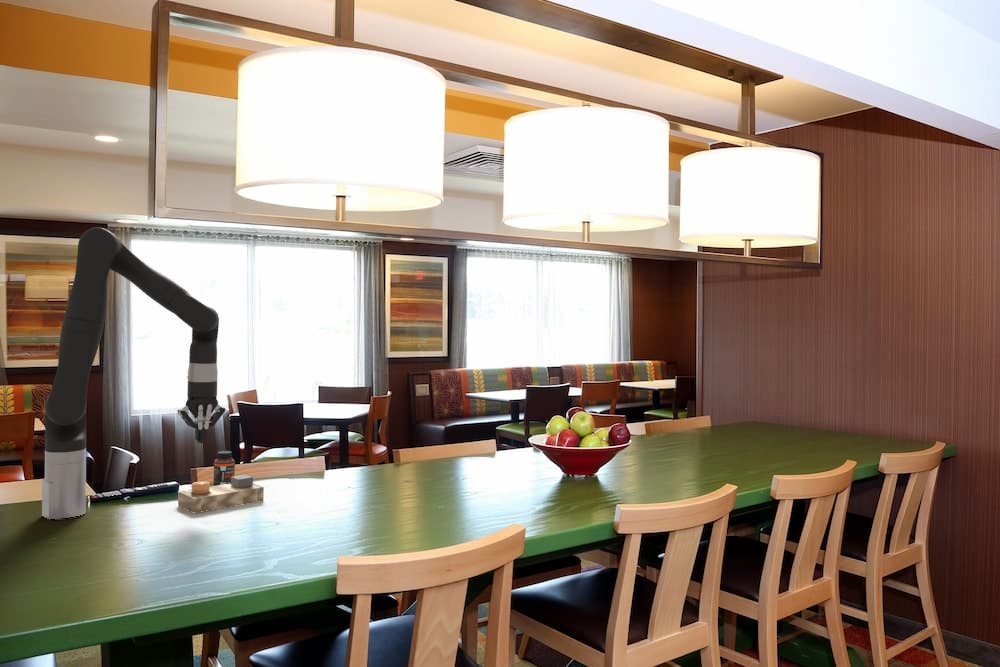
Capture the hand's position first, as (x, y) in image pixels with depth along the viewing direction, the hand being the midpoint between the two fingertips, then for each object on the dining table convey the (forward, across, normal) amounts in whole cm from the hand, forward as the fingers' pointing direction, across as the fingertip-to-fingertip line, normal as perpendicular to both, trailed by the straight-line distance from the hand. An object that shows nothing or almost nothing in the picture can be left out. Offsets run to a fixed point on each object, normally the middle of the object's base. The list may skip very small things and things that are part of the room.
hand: (201, 442), depth 203 cm
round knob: (+17, 0, 0) cm, 17 cm away
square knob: (+17, +12, 0) cm, 21 cm away
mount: (+18, +6, 0) cm, 19 cm away
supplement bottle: (+18, +14, +15) cm, 27 cm away
